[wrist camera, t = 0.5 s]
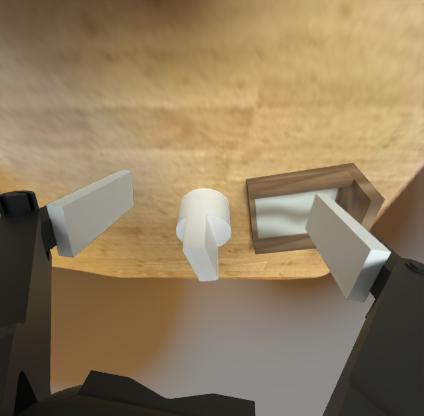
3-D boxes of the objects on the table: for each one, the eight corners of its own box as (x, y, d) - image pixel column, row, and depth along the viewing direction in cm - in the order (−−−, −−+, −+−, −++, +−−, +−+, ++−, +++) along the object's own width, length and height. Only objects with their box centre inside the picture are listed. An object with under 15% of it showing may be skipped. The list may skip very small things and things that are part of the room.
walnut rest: (246, 179, 34) (253, 215, 28) (353, 163, 32) (384, 199, 26) (252, 239, 45) (258, 275, 39) (332, 230, 43) (351, 266, 37)
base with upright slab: (173, 193, 36) (159, 252, 28) (224, 184, 35) (227, 243, 26) (189, 227, 42) (182, 283, 34) (233, 220, 41) (238, 278, 32)
